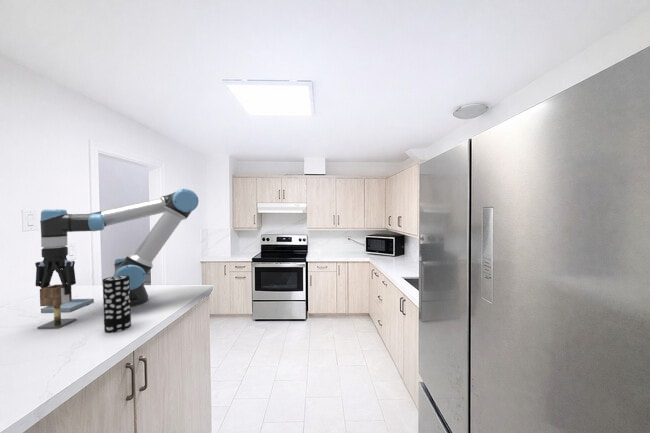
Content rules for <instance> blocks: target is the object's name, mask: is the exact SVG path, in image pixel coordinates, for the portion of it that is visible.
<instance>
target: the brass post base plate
mask: <svg viewBox="0 0 650 433" xmlns="http://www.w3.org/2000/svg"><path fill="white" fill-rule="evenodd" d="M75 321H77V318H74V317H73V318H62V312H61V305H58V306H54V313H53V320H52V321H49V322H47V323H44V324H42V325H39V326H37V330H51V329H52V330H54V329H55V330H56V329H61V328H63V327H64V326H67V325H69V324H71V323H74V322H75Z"/></svg>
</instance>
